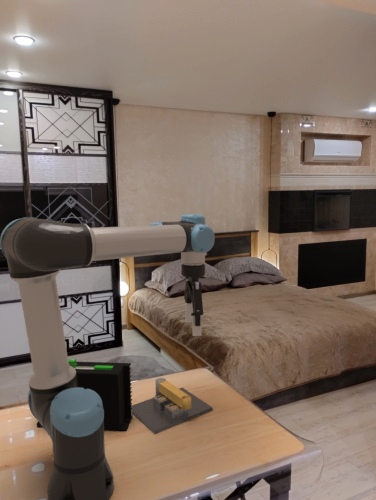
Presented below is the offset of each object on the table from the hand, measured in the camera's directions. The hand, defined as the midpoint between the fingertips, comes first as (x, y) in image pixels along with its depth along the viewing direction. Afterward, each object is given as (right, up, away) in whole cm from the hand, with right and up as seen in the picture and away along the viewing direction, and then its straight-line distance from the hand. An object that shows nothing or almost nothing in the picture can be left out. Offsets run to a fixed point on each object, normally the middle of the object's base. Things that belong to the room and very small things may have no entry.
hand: (193, 328), depth 129 cm
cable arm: (-7, -25, +2) cm, 26 cm away
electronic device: (-33, -28, -3) cm, 44 cm away
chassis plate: (-7, -27, +2) cm, 28 cm away
